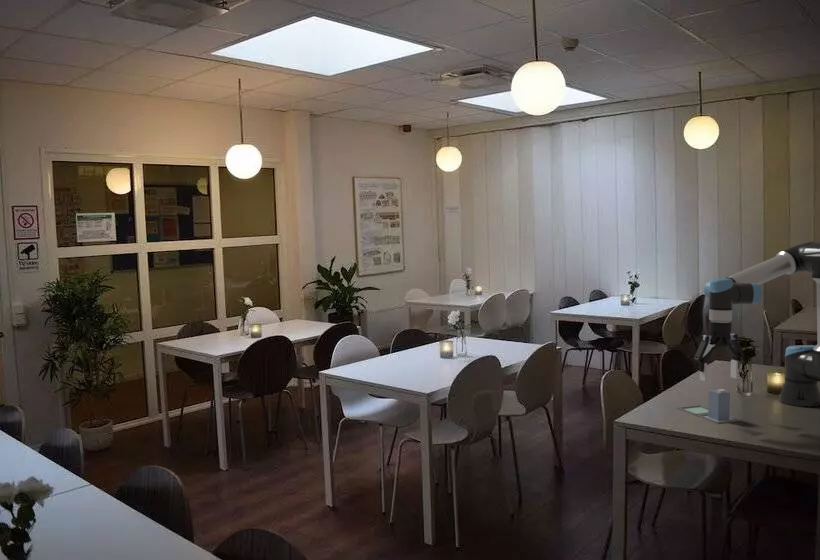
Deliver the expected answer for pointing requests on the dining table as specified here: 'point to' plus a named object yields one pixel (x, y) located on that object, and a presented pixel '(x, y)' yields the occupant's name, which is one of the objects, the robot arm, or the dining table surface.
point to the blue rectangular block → (719, 404)
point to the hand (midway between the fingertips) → (718, 379)
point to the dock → (705, 413)
